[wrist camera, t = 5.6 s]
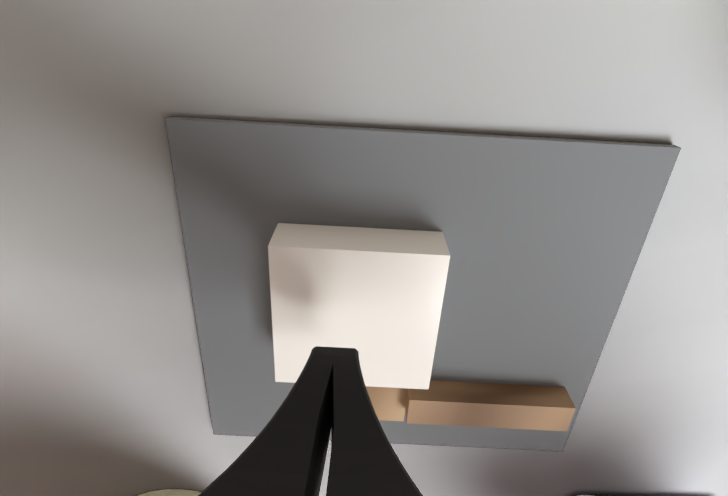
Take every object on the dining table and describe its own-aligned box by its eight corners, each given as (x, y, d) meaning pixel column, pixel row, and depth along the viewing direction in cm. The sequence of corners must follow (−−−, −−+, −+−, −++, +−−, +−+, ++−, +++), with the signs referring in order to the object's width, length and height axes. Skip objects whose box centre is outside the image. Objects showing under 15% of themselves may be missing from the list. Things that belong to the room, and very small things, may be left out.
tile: (428, 389, 18) (275, 381, 17) (423, 357, 19) (283, 350, 19) (450, 255, 15) (268, 245, 15) (442, 231, 16) (278, 222, 16)
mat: (559, 444, 22) (562, 451, 22) (216, 427, 22) (213, 434, 22) (673, 144, 15) (681, 147, 15) (169, 116, 15) (164, 119, 15)
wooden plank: (569, 373, 19) (581, 394, 18) (552, 421, 21) (562, 443, 20) (317, 360, 19) (313, 381, 18) (316, 410, 21) (314, 431, 20)
